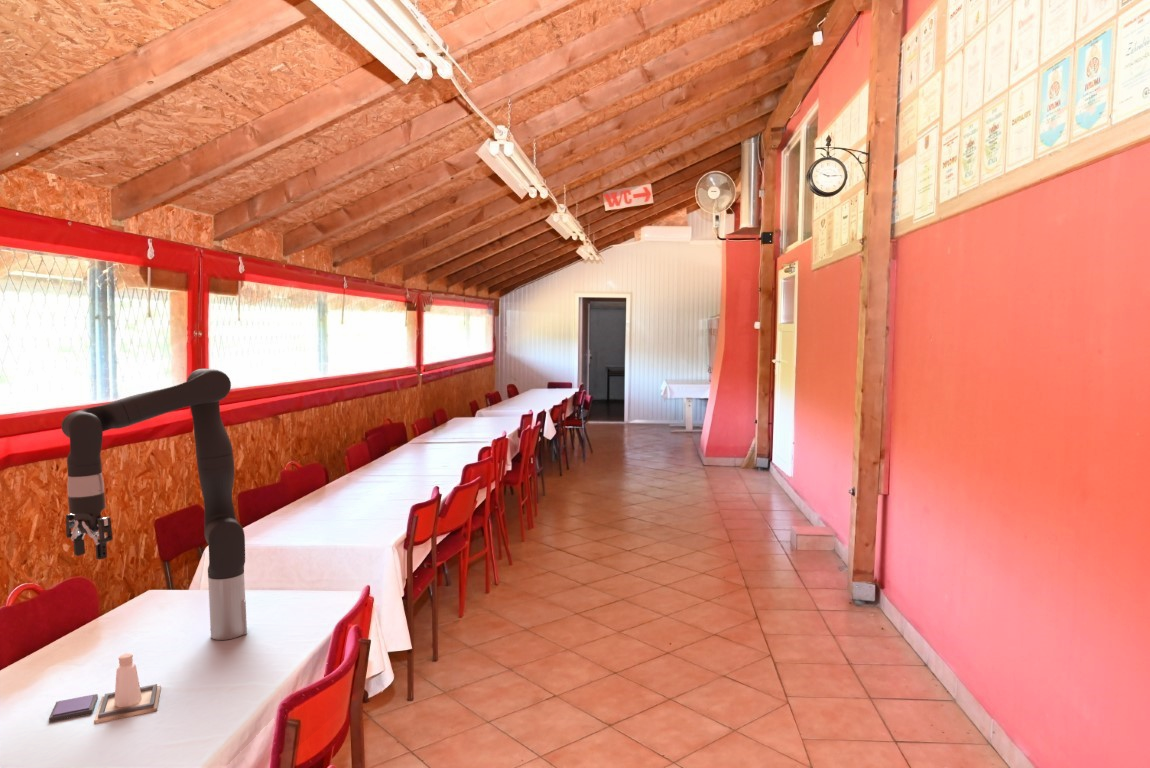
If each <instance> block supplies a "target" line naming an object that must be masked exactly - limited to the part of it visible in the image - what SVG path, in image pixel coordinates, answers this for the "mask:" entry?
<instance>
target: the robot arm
mask: <svg viewBox="0 0 1150 768" xmlns="http://www.w3.org/2000/svg"><path fill="white" fill-rule="evenodd" d="M231 388H232V382H231V379H230V377H229V376H228V374H226V373H225V372H223V371H222V370H219V369H215V368H198V369H196V370H194V371H192V372H191V373H190V374H189V375H188V377H187V378H186V381H184V382H182V383H179V384H176V385H173V386H169V387H165V388H161V389H156V390H152V391H151V390H150V391H145V392H141V393H138V394H137V393H136V394H133V395H130V396H128V397H127V396H126V397H124V398H120V399H117V400H114V401H112V402H111V401H110V402H108V403H105V404H101V405H97V406H96V405H95V406H92V407H91V406H90V407H88V408H82V409H79V410H76V411H73V412H71V413H69V414H67V415H66V416H65V417H64V418H63V420H62V421H61V425H60V426H61V431H62V433H63V434H64V435H65V437H68V438H69V450H70V451H69V453H68V455H67V458H66V468H67V469H66V470H67V483H66V485H67V502H68V512H69V513H67V514H65V532H66V533H65V534H66V535H65V537H66V538H67V539H68V538H69V539H70V540H71V541H72V542H73V553H74V556H77V557H79V556H83V555H84V554H86V548H85V539H84V538H85V535H86V534H87V535H88V537H89V538H91V539H93V541H94V543H95V558H96V560H99V561H100V560H103V559H107V557H108V550H107V549H108V548H107V543H109V542H111V541H113V540H114V538H113V530H112V528H113V527H112V519H111V517H110V516H106V517H103V516H102V511H104V510H105V509H106V494H105V493H106V492H105V483H104V482H105V481H104V477H103V469H102V467H103V466H102V458H101V457H102V455H101V453H102V447H103V446H102V445H103V437H104V436H103V433H104V432H106V431H109V430H113V429H114V430H115V429H123V428H126V427H130V426H133V425H136V424H139V423H141V422H144V421H147V420H150V419H153V418H155V417H159V416H161V415H164V414H167V413H171V412H173V411H177V410H180V409H184V408H188V407H190V411H191V412H190V413H191V415H192V417H191V418H192V422H193V435H194V444H195V445H194V446H195V457H196V465H197V472H198V473H197V474H198V479H199V484H200V489H201V493H202V497H203V504H204V505H203V506H204V525H203V526H204V527H203V528H204V530H203V533H204V534H203V535H204V539H205V541H206V543H207V544H208V566H207V582H208V601H209V602H208V603H209V604H208V605H209V606H208V607H209V623H210V624H209V625H210V630H209V631H210V638H211V639H213V640H217V641H223V640H224V641H225V640H231V639H236V638H238V637H241V636H244V635H247V634H248V627H247V626H248V624H247V623H248V621H247V606H246V604H247V603H246V602H247V601H246V586H245V584H246V583H245V564H246V540H245V530H244V527H243V526H242V525H241V524H240V523H239V522H238V520H237V517H236V513H235V508H234V502H233V487H234V480H235V461H234V451H233V445H232V443H231V439H230V437H229V435H228V433H227V429H226V428H225V426H224V423H223V419H222V417H221V408H220V401H222V400H224V399H225V398H226V397H227V396H228V395H229V393H230V392H231ZM106 534H107V535H106Z"/></svg>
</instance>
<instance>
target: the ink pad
mask: <svg viewBox="0 0 1150 768" xmlns="http://www.w3.org/2000/svg"><path fill="white" fill-rule="evenodd" d="M98 698H99V694H98V693H95V694H89V695H85V696H79V697H74V698H69V699H64V700H63V699H62V700H58V701H56V702H55V704H54V706H53V708H52V710H51V712H50V714H49V717H48V722H49V723H53V722H59V721H64V720H68V719H69V720H70V719H73V718H78V717H79V718H80V717H85V716H89V715H93V713H94V711H95V708H96V705H97V702H98Z"/></svg>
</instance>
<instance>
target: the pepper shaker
mask: <svg viewBox="0 0 1150 768" xmlns="http://www.w3.org/2000/svg"><path fill="white" fill-rule="evenodd" d="M133 655H134V654H133V653H124V654H121V655H119V656H118V665H119V666H117V668H116V674H115V688H114V689H115V690H114V692H115V702H114V705H115V706H117V707H119V708H122V707H130V706H132V705H135V704H137V703H139V701H140V700H141V699H142V696H141V690H140V687H141V686H140V681H139V675H138V669H137V665H136V664H135V663H134V662H133V661H134V660H133V659H134V658H133V657H134V656H133Z"/></svg>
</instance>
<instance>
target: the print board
mask: <svg viewBox="0 0 1150 768" xmlns="http://www.w3.org/2000/svg"><path fill="white" fill-rule="evenodd" d="M140 690H141V696H142V699H141V700H140V701H139V703H137V704H135V705H132V706H130V707H122V708H119V707H117V706H115V705H114V702H115V691H113V692H108V693H105V694H104V695H103V696H101V699H100V701H99V705H98V706H97V710H96V714H95V717H94V719H93V723H94V724H98V723H102V722H108V721H112V720H119V719H123V718H127V717H133V716H137V715H143V714H147V713H152V712H156V711H158V708H159V702H160V695H161V691H162V685H158V684H157V683H156V684H150V685H145V686H140Z"/></svg>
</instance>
